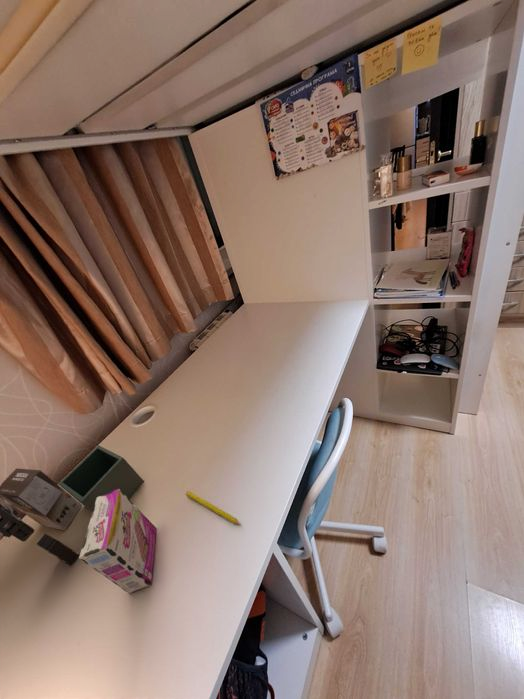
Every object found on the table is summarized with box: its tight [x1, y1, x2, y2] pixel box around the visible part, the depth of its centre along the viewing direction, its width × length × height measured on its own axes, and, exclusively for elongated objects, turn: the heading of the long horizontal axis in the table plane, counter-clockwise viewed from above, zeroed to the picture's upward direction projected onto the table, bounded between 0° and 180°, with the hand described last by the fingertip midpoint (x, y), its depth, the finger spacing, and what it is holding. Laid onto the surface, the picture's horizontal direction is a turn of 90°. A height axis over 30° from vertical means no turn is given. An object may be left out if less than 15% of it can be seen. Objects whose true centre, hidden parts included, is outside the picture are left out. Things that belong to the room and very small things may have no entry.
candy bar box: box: [78, 489, 157, 594], centre depth 56 cm, size 11×5×16 cm, turn 13°
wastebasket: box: [57, 444, 145, 513], centre depth 73 cm, size 12×12×10 cm
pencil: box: [185, 490, 241, 525], centre depth 64 cm, size 16×1×1 cm, turn 58°
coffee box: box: [0, 467, 83, 531], centre depth 70 cm, size 9×6×16 cm
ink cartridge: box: [36, 533, 80, 567], centre depth 63 cm, size 5×2×8 cm, turn 67°
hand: (20, 526), depth 57 cm, fingers open, 8 cm apart
